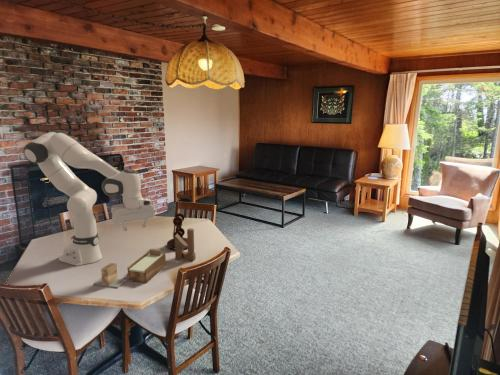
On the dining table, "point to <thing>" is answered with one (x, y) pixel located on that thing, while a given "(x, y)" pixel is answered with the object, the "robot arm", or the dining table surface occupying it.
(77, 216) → the robot arm
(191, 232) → the wooden stand
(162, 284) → the dining table surface
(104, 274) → the light wood block
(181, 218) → the dark brown ringed stand
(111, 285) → the felt mat
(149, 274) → the wooden box
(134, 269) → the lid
